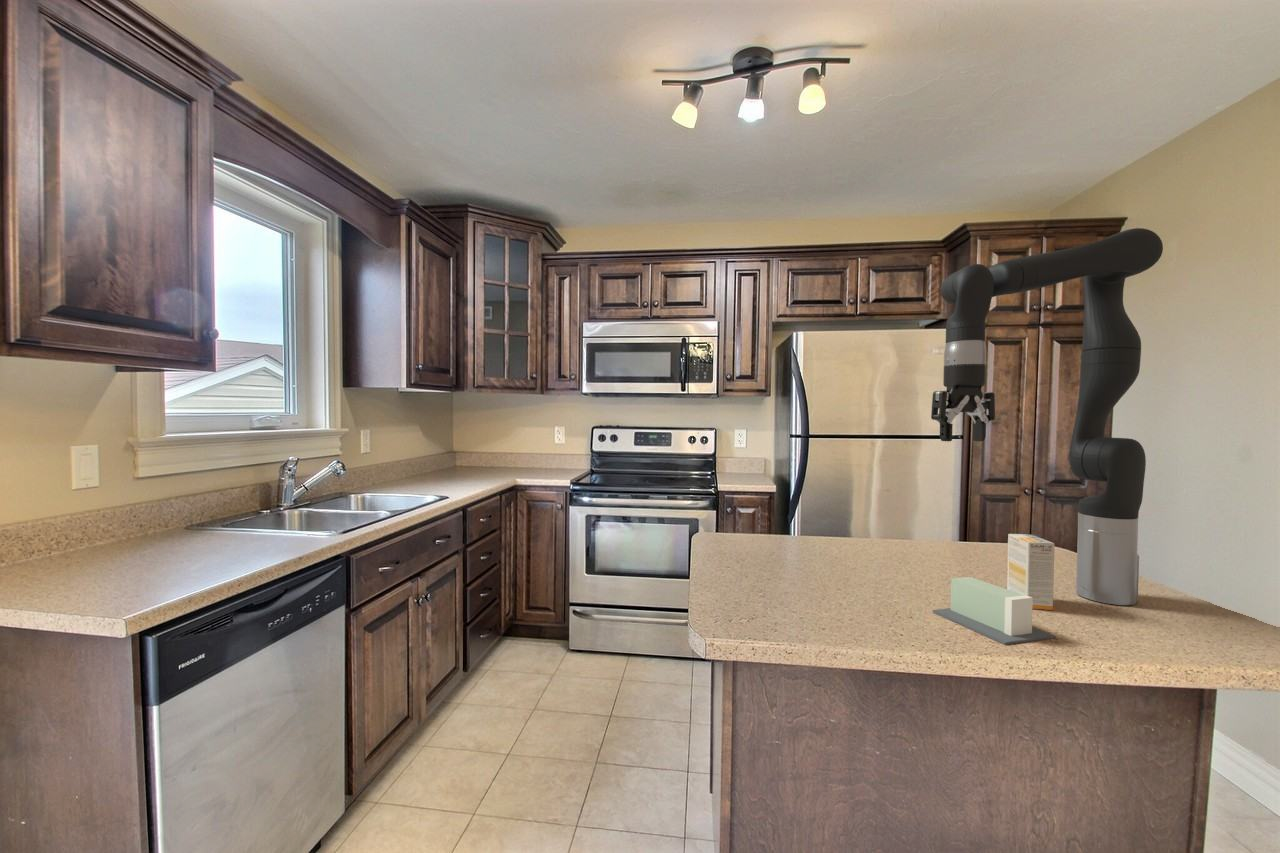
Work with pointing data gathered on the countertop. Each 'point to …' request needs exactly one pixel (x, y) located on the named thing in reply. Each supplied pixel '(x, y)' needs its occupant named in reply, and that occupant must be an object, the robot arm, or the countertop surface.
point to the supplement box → (1031, 569)
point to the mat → (992, 629)
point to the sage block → (992, 605)
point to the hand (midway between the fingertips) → (962, 441)
